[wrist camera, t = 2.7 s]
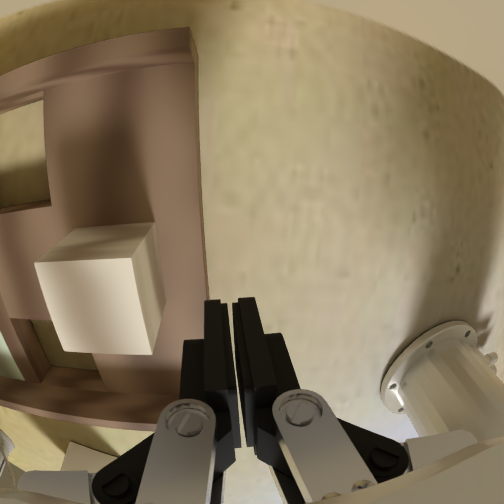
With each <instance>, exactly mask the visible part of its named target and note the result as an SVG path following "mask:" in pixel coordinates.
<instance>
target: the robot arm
mask: <svg viewBox="0 0 504 504" xmlns="http://www.w3.org/2000/svg"><path fill="white" fill-rule="evenodd" d="M232 310H233V328H234V345H235V361H236V371H237V379H238V387H239V394H240V402H241V409H242V416H243V423H244V430H245V437H246V444H247V447H253V446H254V452H255V455H257V458H258V459H259V460H261V461H263V462H265V463H266V464H268V465H269V469H270V472H271V474H272V477H273V479H274V482H275V484H276V486H277V489H278V491H279V494H280V496H281V498H282V501H283V503H284V504H504V384H503V382H502V381H501V380H500V379H499V378H498V377H497V375H496V372H497V370H496V367H495V365H494V363H496V362H497V359H498V356H497V354H496V353H495V352H492V353H489V354H487V355H485V356H484V355H483V354H482V353H481V352H480V351H479V349H478V348H477V345H478V337H477V334H476V332H475V330H474V329H473V328H472V327H471V326H470V325H469V324H468V323H466V322H463V321H450V322H446V323H443V324H441V325H438V326H436V327H434V328H432V329H431V330H429V331H427V332H426V333H424V334H423V335H422V336H420V337H419V338H417V339H416V340H415V341H414V342H413V343H412V344H410V345H409V346H408V347H407V348H406V349H405V350H404V351H403V352H402V353H401V354H400V355H399V357H398V358H397V359H396V360H395V362H394V363H393V364H392V366H391V367H390V369H389V370H388V372H387V374H386V375H385V378H384V380H383V383H382V386H381V391H380V393H381V399H382V401H383V403H384V405H385V407H386V408H387V409H388V410H389V411H391V412H393V413H397V414H407V416H408V417H409V419H410V421H411V423H412V425H413V426H414V428H415V430H416V432H417V433H418V435H419V438H412V439H406V441H405V442H404V443H398V442H396V441H394V440H392V439H389V438H387V437H384V436H381V435H378V434H376V433H373V432H371V431H368V430H365V429H363V428H360V427H358V426H355V425H353V424H351V423H348V422H346V421H343V420H341V419H339V418H336V416H335V415H334V413H333V412H332V410H331V408H330V407H329V405H328V403H327V402H326V401H325V400H324V398H323V397H322V396H320V395H319V394H317V393H315V392H313V391H310V390H304V389H300V386H299V383H298V380H297V377H296V374H295V371H294V368H293V365H292V362H291V359H290V356H289V353H288V350H287V347H286V344H285V341H284V338H283V336H282V334H281V333H272V334H264V332H263V328H262V324H261V320H260V316H259V312H258V308H257V304H256V301H255V297H247V298H238V302H237V303H232ZM234 448H241V436H240V424H239V411H238V397H237V386H236V377H235V369H234V361H233V352H232V343H231V335H230V325H229V316H228V307H227V303H223V304H221V301H220V299H218V300H204V339H189V340H184V342H183V352H182V364H181V378H180V394H179V400H178V401H174V402H173V403H171V404H169V405H167V406H166V407H165V408H164V409H163V410H162V412H161V414H160V416H159V419H158V423H157V426H156V430H155V432H154V433H153V434H152V435H150V436H149V437H147V438H146V439H145V440H143V441H142V442H140V443H139V444H137V445H136V446H135V447H133V448H132V449H130V450H129V451H127V452H126V453H124V454H123V455H121V456H120V457H118V458H117V459H115V460H114V461H112V462H111V463H109V464H108V465H106V466H105V467H103V468H102V469H100V470H99V471H98V472H97V473H89V471H88V470H83V471H37V470H34V471H28V472H26V473H25V474H23V475H22V476H21V478H20V479H19V482H18V486H17V490H16V489H0V504H223V500H224V489H225V478H226V471H225V470H226V469H227V468H228V467H229V466H231V465H232V464H233V463H234V462H235V461H236V459H235V449H234Z"/></svg>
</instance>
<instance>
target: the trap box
mask: <svg viewBox="0 0 504 504" xmlns="http://www.w3.org/2000/svg"><path fill="white" fill-rule="evenodd" d="M43 99H44V138H45V152H46V164H47V174H48V182H49V190H50V197H51V200H45V201H38V202H32V203H26V204H20V205H14V206H9V207H4V208H0V406H3V407H7V408H10V409H14V410H18V411H21V412H25V413H29V414H33V415H38V416H42V417H47V418H51V419H56V420H61V421H67V422H72V423H78V424H85V425H92V426H99V427H107V428H116V429H126V430H139V431H155V430H156V426H157V423H158V419H159V416H160V414H161V412H162V410H163V409H164V408H165V407H166V406H167V405H169V404H171V403H173V402H174V401H178V400H179V394H180V378H181V364H182V352H183V342H184V340H189V339H204V300H210V298H209V287H208V276H207V264H206V251H205V237H204V222H203V206H202V188H201V167H200V141H199V104H198V54H197V51H196V48H195V44H194V41H193V38H192V34H191V31H190V28H189V27H184V28H174V29H166V30H158V31H151V32H144V33H138V34H133V35H127V36H122V37H117V38H113V39H108V40H104V41H100V42H95V43H91V44H88V45H84V46H80V47H77V48H73V49H70V50H67V51H63V52H60V53H57V54H54V55H51V56H48V57H45V58H43V59H40V60H37V61H34V62H32V63H29V64H27V65H24V66H22V67H19V68H17V69H14V70H12V71H10V72H8V73H5V74H3V75H1V76H0V114H3V113H5V112H8V111H11V110H13V109H16V108H19V107H22V106H25V105H27V104H30V103H34V102H37V101H40V100H43ZM148 222H155V226H156V234H157V242H158V250H159V258H160V265H161V272H162V278H163V285H164V291H165V297H166V304H165V308H164V311H163V315H162V319H161V323H160V326H159V330H158V334H157V338H156V342H155V346H154V350H153V354H152V355H127V354H100V353H92V356H93V358H94V361H95V363H96V366H97V368H98V371H96V370H83V369H73V368H63V367H54V366H50V364H49V362H48V360H47V358H46V355H45V353H44V351H43V349H42V347H41V344H40V342H39V340H38V337H37V335H36V333H35V330H34V328H33V325H32V323H31V320H30V319H32V320H51V321H52V319H51V316H50V313H49V310H48V308H47V305H46V302H45V299H44V295H43V292H42V289H41V286H40V283H39V279H38V276H37V272H36V269H35V265H34V262H35V261H36V260H38V259H39V258H40V257H41V256H42V255H44V254H45V253H46V252H47V251H48V250H50V249H51V248H52V247H53V246H54V245H56V244H57V243H58V242H59V241H61V240H62V239H63V238H64V237H66V236H67V235H68V234H69V233H71V232H72V231H73V230H75V229H76V228H85V227H96V226H108V225H121V224H134V223H148Z"/></svg>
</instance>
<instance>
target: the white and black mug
mask: <svg viewBox="0 0 504 504" xmlns="http://www.w3.org/2000/svg"><path fill="white" fill-rule="evenodd" d="M14 448H15V446H14V444H13V442H12V441H11V440H10V438H9V437H8V436H7V435H6V434H5V433H4V432H3V431H2V430H0V476H1V474H2V471H3V468H4V466H5V463H6V464H7V466H8V469H9V472H10V478H11V489H15V480H14V474H13V471H12V469H11V467H10V464H9V462H8V460H7V458H8V456H9V453H10V452H11V451H12V450H13V449H14Z"/></svg>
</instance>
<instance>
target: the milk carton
mask: <svg viewBox="0 0 504 504" xmlns="http://www.w3.org/2000/svg"><path fill="white" fill-rule="evenodd" d="M115 459H117V457H114V456H111V455H107V454H104V453H101V452H98V451H95V450H92V449H90V448H87V447H84V446H81V445H79V444H76V443H73V442H69V445H68V448H67V451H66V454H65V457H64V461H63V464H62V467H61V470H60V471H83V470H88V471H89V473H97V472H98V471H99V470H100V469H102V468H103V467H105V466H106V465H108V464H109V463H111V462H112V461H114V460H115Z"/></svg>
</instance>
